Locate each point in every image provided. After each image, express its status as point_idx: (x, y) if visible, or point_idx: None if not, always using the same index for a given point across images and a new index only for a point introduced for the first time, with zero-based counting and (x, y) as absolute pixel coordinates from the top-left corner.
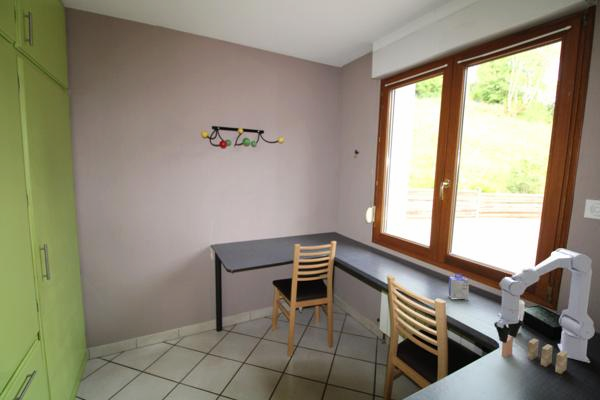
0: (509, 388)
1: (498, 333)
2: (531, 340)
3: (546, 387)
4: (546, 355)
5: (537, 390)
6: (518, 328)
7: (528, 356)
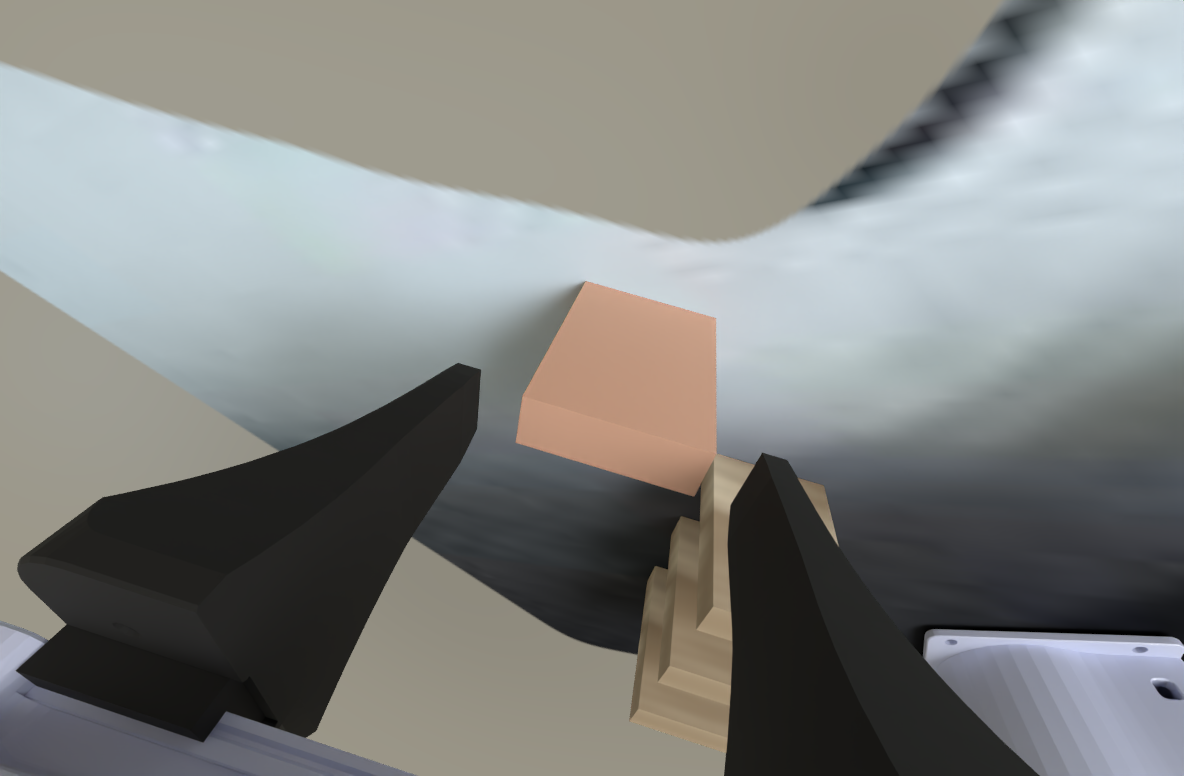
0: (220, 380)
1: (355, 426)
2: None
3: (435, 518)
4: (664, 624)
5: None
6: (737, 709)
7: (711, 474)
